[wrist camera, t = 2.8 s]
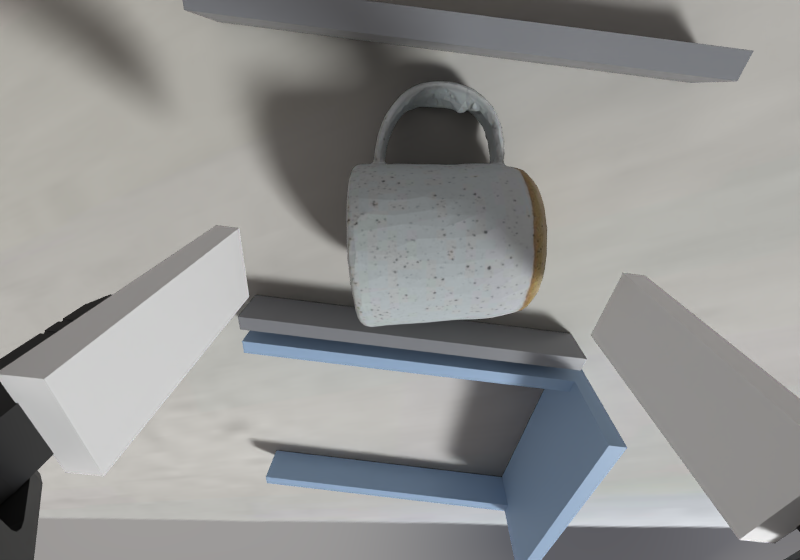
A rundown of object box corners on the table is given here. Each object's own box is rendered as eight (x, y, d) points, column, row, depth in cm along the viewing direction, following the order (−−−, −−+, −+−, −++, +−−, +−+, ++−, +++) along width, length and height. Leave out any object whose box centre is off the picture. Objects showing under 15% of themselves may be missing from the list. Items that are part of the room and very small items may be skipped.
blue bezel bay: (574, 356, 24) (627, 447, 18) (509, 484, 32) (529, 574, 26) (258, 318, 23) (202, 396, 17) (277, 456, 32) (244, 541, 26)
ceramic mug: (503, 272, 21) (543, 356, 14) (375, 277, 21) (354, 359, 15) (521, 75, 16) (598, 57, 9) (352, 90, 16) (304, 84, 9)
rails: (704, 56, 15) (753, 50, 12) (565, 344, 23) (580, 370, 21) (214, -7, 14) (178, -24, 12) (257, 306, 23) (240, 329, 21)
